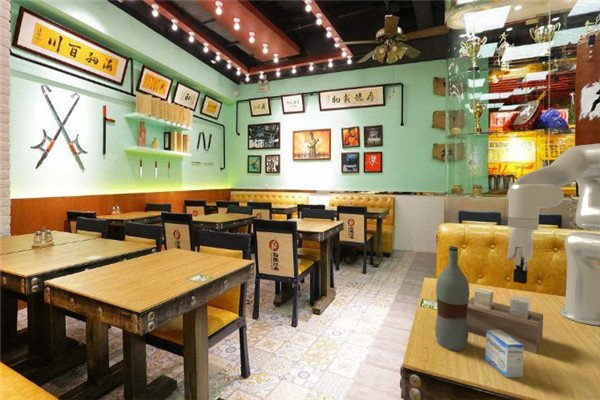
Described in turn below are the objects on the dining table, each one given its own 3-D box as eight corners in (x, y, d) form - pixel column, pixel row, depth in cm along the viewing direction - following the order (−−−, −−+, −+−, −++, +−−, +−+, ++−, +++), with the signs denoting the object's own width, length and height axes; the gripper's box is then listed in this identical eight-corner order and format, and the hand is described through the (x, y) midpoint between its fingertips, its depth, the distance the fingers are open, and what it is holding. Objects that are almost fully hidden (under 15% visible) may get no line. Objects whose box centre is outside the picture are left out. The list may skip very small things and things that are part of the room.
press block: (472, 318, 107) (472, 297, 107) (542, 338, 93) (543, 314, 92) (460, 329, 99) (461, 306, 99) (536, 353, 84) (537, 326, 84)
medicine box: (484, 360, 82) (485, 329, 81) (499, 359, 82) (500, 329, 81) (506, 378, 74) (507, 344, 73) (523, 377, 74) (524, 344, 74)
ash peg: (477, 310, 102) (478, 287, 102) (492, 314, 99) (493, 291, 99) (474, 314, 99) (474, 290, 99) (489, 318, 96) (489, 294, 96)
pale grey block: (512, 319, 95) (513, 295, 95) (529, 324, 92) (530, 299, 92) (509, 324, 92) (510, 299, 92) (527, 329, 89) (528, 303, 89)
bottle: (469, 355, 84) (472, 251, 82) (434, 347, 88) (436, 248, 86) (466, 339, 92) (469, 245, 91) (434, 333, 96) (436, 243, 95)
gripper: (513, 221, 98) (510, 275, 99) (502, 224, 88) (499, 284, 89) (542, 223, 93) (539, 280, 94) (534, 226, 83) (531, 291, 83)
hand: (520, 282), depth 91 cm, fingers closed
